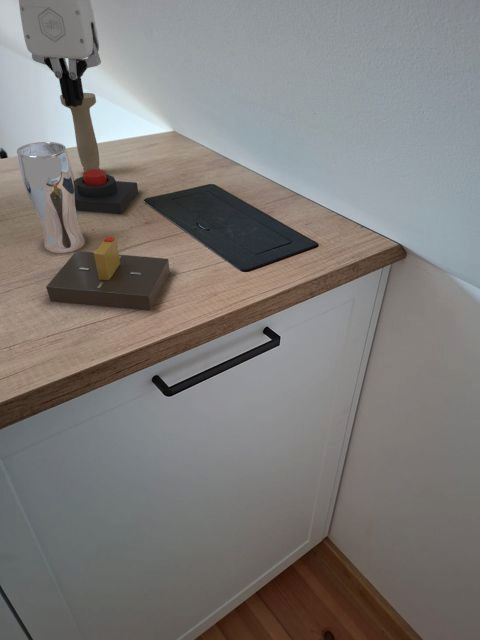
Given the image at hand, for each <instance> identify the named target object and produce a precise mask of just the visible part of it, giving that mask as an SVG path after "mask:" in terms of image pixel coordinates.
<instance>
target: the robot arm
mask: <svg viewBox="0 0 480 640" xmlns="http://www.w3.org/2000/svg"><path fill="white" fill-rule="evenodd" d="M18 5H19V7H18V8H19V13H20V20H21V21H20V22H21V27H22V28H21V29H22V34H23V39H24V42H25V47H26V49H27V51H28V52H29V53H30V54H31V58H32V61H34V62H35V63H39V64H42V65H45V66H46V67H48V68H49V70H51V71H52V72H53V75H54V76H55V78H56V79H58V82H59V86H60V92H61V95H62V97H63V99H65V104H66V106H73V107H77V106H79V105H80V104H82V103H83V99H84V94H83V93H84V89H83V81H82V77H83V76H84V73H86V71H87V69H91V68H95V67H98V66H100V65H101V64H102V60H101V57H100V54H99V50H100V43H99V35H98V29H97V25H96V20H95V15H94V10H93V6H92V2H91V0H18ZM66 59H67V60H68V63H67V60H66Z"/></svg>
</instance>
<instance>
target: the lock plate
mask: <svg viewBox="0 0 480 640" xmlns="http://www.w3.org/2000/svg"><path fill="white" fill-rule="evenodd" d="M94 253H95V251H84V250H83V251H81V250H75V251H74V253H73V254H72V256H71V257H70V258H69V259H67V261H66V263H65V264H64V265H63V266H62V267H61V269H59V271H58V272H57V273H56V274H55V276H53V278H52V279H51V280H50V282H49V283H48V284H47V285H46V286H45V287H46V288H45V289H46V291H47V294H48V297H49V298H48V299H49V301H50V302H54V303H62V304H63V303H64V304H74V305H83V306H84V305H85V306H96V307H105V308H106V307H107V308H117V309H128V310H130V309H131V310H138V311H150V312H151V311H152V309H153V307H154V306H155V303H156V301H157V299H158V297H159V295H160V293H161V291H162V289H163V287H164V285H165V284H166V281H167V280H168V277H169V275H170V272H171V271H170V262H169V258H164V257H152V256H143V255H129V254H119V259H120V265H119V266H118V268H117V269H116V271H115V272H114V274H113V275H112V277H111V278H110V280H99V276H98V271H97V267H96V262H95V257H94Z"/></svg>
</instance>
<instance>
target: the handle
mask: <svg viewBox="0 0 480 640" xmlns="http://www.w3.org/2000/svg"><path fill="white" fill-rule="evenodd" d="M83 94H84V99H83V103H82V104H80V105H79V106H77V107H73V106H66V104H65V99H63V97H62V94H60V95H59V99H60V103H61V105H62V106H64V107H65V108H67V109H69V110H70V113H71V117H72V122H73V128H74V136H75V143H76V149H77V153H78V157H79V161H80V163H81V166H82V169H83V173H84V172H85V171H88V170H93V169H99V170H101V168H100V165H101V164H100V152H99V147H98V140H97V138H96V134H95V133H96V132H95V130H94V126H93V120H92V116H91V110H90V108H92V107H93V106H94V105H96V103H97V99H96V94H95V93H93V92H83Z"/></svg>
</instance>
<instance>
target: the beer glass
mask: <svg viewBox="0 0 480 640" xmlns="http://www.w3.org/2000/svg"><path fill="white" fill-rule="evenodd" d="M16 155H17V159H18V165H19V169H20V173H21V174H20V175H21V178H22V181H23V185H24V188H25V191H26V194H27V195H28V198H29V200H30V202H31V205H32V207H33V209H34V211H35V213H36V215H37V217H38V219H39V221H40V224H41V227H42V231H43V243H44V247H45V250H47V251H48V252H51V253H55V254H64V253H71V252H76V251H78V250H79V249H81V248H82V247H83V246H84V245H85V243H86V241H85V238H84V235H83V233H82V231H81V228H80V226H79V222H78V217H77V216H78V215H77V211H76V191H75V182H74V181H75V177H74V173H73V169H72V165H71V162H70V159H69V155H68V151H67V148H66V145H64V144H62V143H59V142H54V141H37V142H30V143H28V144H27V143H26V144H23V145H21V146H20V147H18V148H17V149H16Z"/></svg>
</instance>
